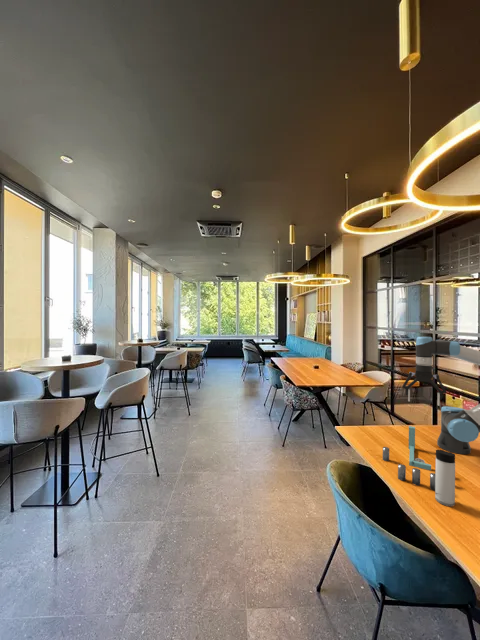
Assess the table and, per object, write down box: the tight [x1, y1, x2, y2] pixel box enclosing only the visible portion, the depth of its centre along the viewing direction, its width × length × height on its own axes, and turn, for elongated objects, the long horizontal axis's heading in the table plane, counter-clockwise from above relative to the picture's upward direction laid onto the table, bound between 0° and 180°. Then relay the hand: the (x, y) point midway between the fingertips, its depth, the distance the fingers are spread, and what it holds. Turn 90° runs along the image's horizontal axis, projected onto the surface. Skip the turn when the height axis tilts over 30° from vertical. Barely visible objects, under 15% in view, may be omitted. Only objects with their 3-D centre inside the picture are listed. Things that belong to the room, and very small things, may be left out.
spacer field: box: [382, 446, 436, 492], centre depth 130 cm, size 26×20×6 cm
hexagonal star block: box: [414, 457, 426, 463], centre depth 139 cm, size 4×5×2 cm
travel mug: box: [434, 449, 456, 507], centre depth 110 cm, size 6×7×20 cm
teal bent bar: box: [408, 425, 432, 471], centre depth 146 cm, size 24×10×12 cm, turn 148°
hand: (423, 403), depth 153 cm, fingers open, 13 cm apart
